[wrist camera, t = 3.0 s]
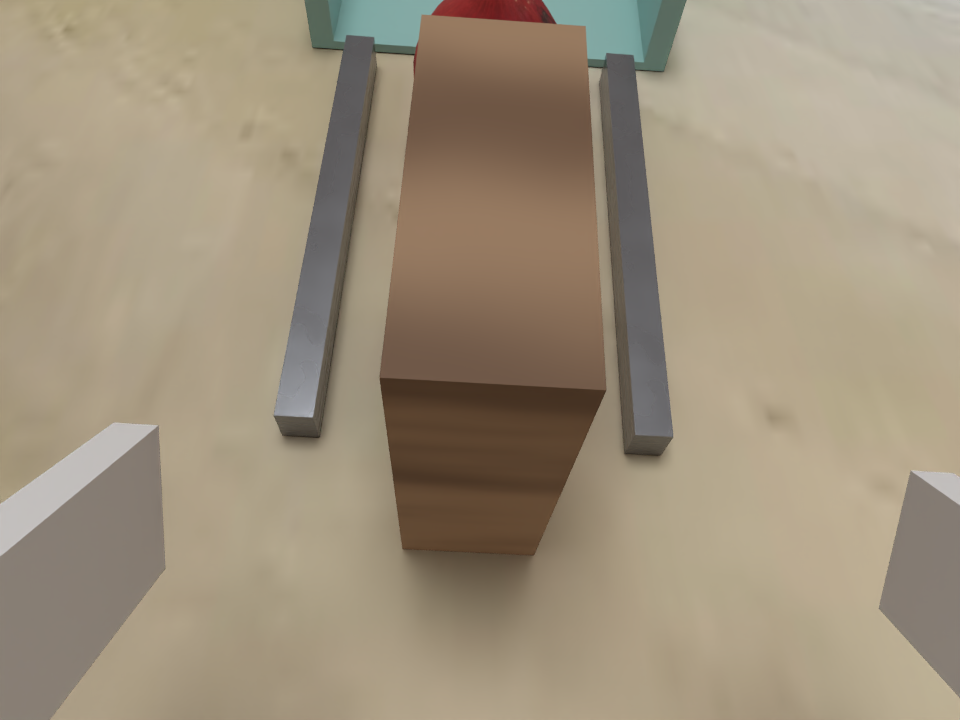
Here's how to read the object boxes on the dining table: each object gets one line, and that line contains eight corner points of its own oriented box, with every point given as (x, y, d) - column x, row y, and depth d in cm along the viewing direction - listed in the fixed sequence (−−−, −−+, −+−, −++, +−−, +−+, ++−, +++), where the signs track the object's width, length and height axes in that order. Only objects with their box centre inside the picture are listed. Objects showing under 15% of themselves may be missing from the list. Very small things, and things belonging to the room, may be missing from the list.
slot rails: (660, 455, 24) (673, 436, 23) (282, 435, 24) (273, 415, 23) (625, 83, 33) (633, 54, 32) (349, 64, 33) (346, 34, 32)
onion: (569, 118, 32) (606, -66, 25) (534, 214, 29) (565, 38, 22) (441, 85, 33) (443, -103, 26) (395, 177, 30) (384, -7, 23)
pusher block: (533, 555, 23) (606, 389, 13) (402, 549, 23) (379, 377, 13) (533, 287, 28) (585, 26, 18) (425, 280, 27) (421, 14, 18)
